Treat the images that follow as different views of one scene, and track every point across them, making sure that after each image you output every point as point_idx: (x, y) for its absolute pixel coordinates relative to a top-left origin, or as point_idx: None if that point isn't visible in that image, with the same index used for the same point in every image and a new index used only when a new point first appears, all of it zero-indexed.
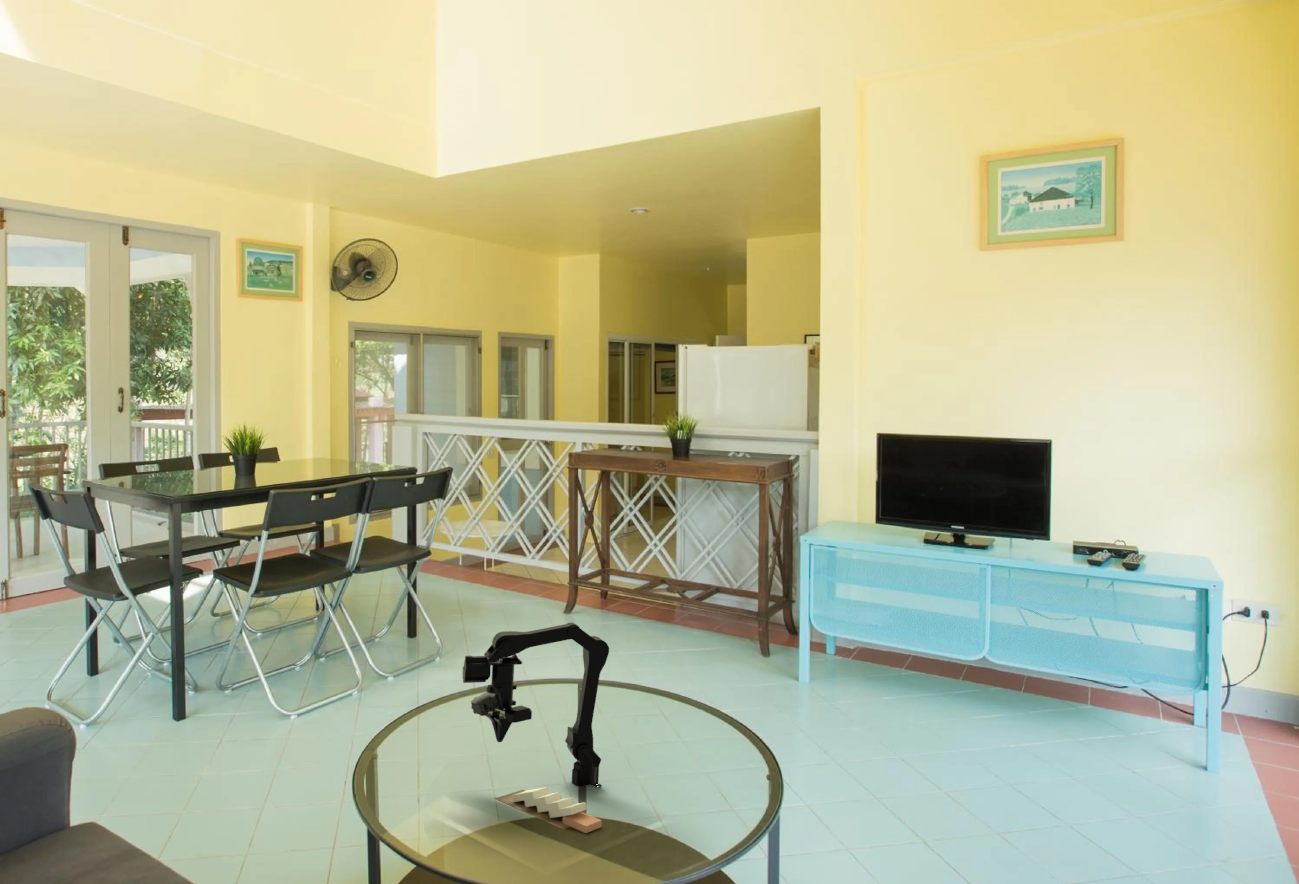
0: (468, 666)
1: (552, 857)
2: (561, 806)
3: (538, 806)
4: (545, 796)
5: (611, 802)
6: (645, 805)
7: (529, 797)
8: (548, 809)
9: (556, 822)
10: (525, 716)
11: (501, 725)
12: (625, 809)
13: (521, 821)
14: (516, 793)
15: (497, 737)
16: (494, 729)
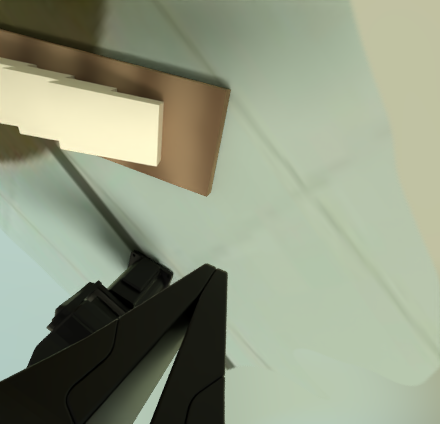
0: None
1: None
2: None
3: (56, 74)
4: (15, 82)
5: (75, 224)
6: (46, 232)
7: (77, 84)
8: (21, 65)
9: (11, 50)
10: None
11: (28, 373)
12: (45, 207)
13: (87, 19)
14: (201, 164)
15: (206, 287)
16: (212, 361)
